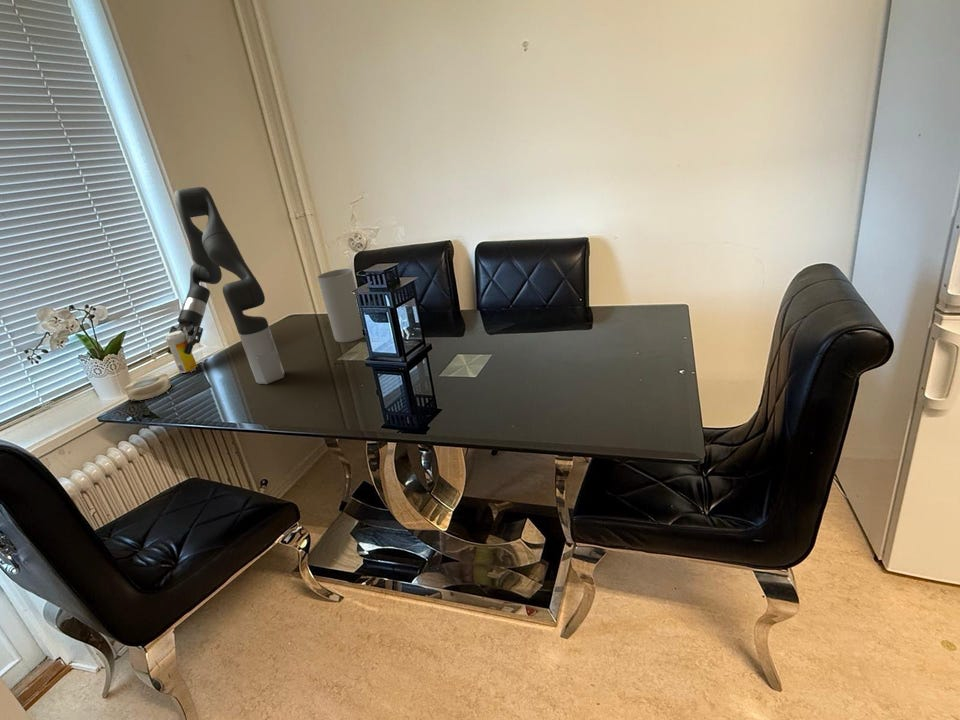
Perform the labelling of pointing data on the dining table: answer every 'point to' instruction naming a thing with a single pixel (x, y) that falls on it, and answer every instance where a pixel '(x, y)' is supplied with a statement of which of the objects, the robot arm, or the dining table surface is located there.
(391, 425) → the dining table surface
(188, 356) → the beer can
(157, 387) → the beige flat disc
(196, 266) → the robot arm
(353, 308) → the cylinder vase
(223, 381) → the dining table surface
